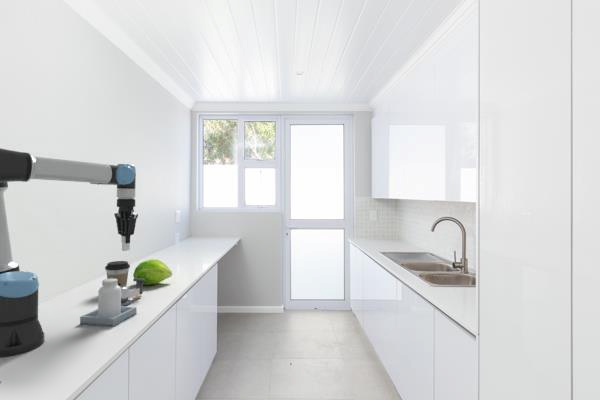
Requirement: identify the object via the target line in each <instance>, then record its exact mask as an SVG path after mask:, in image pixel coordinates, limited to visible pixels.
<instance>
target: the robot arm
mask: <svg viewBox="0 0 600 400" xmlns="http://www.w3.org/2000/svg"><path fill="white" fill-rule="evenodd" d="M136 176H137V175H136V166H135V165H134V164H130V163H118V164H117V165H115V164H107V163H106V164H105V163H98V162H97V163H95V162H87V161H86V162H85V161H77V160H69V159H60V158H59V159H58V158H51V157H40V156H33V155H32V154H31V153H30V152H23V151H22V152H21V151H16V150H10V149H5V148H0V358H1V357H10V356H15V355H20V354H23V353H27V352H29V351H32V350H34V349H36V348H39V347H40V346H41V345H43V344H44V343H45V332H44V330H43V328H42V325H41V323H40V321H39V286H40V283H39V277H38V275H37V274H36V273H34V272H30V271H23V270H21V269H20V264H19V263H18V262H16V261H14V260H13V255H12V247H11V245H12V244H11V240H10V234H9V233H10V232H9V225H8V219H7V212H6V205H5V204H6V203H5V197H4V192H6V191H7V189H8V188H9V185H8V182H9V183H10V182H11V183H12V182H23V183H26V182H29V181H31V180H40V181H41V180H43V181H58V182H76V183H77V182H79V183H89V184H92V185H97V186H98V185H104V186H108V185H109V186H110V185H114V186H116V198H117V199H116V207H117V208H118V211H117V213H115V212H114V218H115V221H116V228H117V234H118V235H120V236H121V247H122V248H121V251H122V252H126V251H131V250H130V249H131V248H130V246H131V245H130V243H131V236H132V235H135V229H136V223H137V219H138V216H139V214H138V213H135V209H134V208H135V207H136V199H135V198H136ZM20 270H21V271H20Z"/></svg>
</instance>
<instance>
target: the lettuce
mask: <svg viewBox="0 0 600 400" xmlns="http://www.w3.org/2000/svg"><path fill="white" fill-rule="evenodd" d="M132 274H133V275H132V276H133V279H134V278H139V279H146V282H143V286H145V285H155V284H156V285H157V284H159V283H161V282H163V281H164V280H167V279H168V278H171V277H172V276H173V271H172V270H171V268H170V267H168V265H167V264H165V263H164V262H163V261H161V260H159V259H155V258H153V259H152V258H151V259H147V260H145V261H142V262H140V263H139V264H137V266H136V267H135V268H134V272H133V273H132Z"/></svg>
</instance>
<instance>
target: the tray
mask: <svg viewBox="0 0 600 400" xmlns="http://www.w3.org/2000/svg"><path fill="white" fill-rule="evenodd" d="M135 315H137V306H121V314H120V315H118V316H116V317H114V318H106V317H98V308H96V309H94V310H92V311H90V312H87V313H86V314H83V315H81V316H79V324H80V325H91V326H102V327H115V326H117V325H119V324H120V323H122V322H124V321H127V320H128V319H130V318H131V317H133V316H135Z"/></svg>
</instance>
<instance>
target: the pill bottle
mask: <svg viewBox="0 0 600 400" xmlns="http://www.w3.org/2000/svg"><path fill="white" fill-rule="evenodd" d="M101 285H102V286H101V287H99V289H98V291H97V292H98V293H97V294H98V297H97V299H98V300H97V303H98V304H97V309H98V317H106V318H114V317H116V316H118V315H120V314H121V288H120V286H118V285H117V279H114V278H112V279H107V278H106V279H105V278H104V279H103V280H102V281H101Z"/></svg>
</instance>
